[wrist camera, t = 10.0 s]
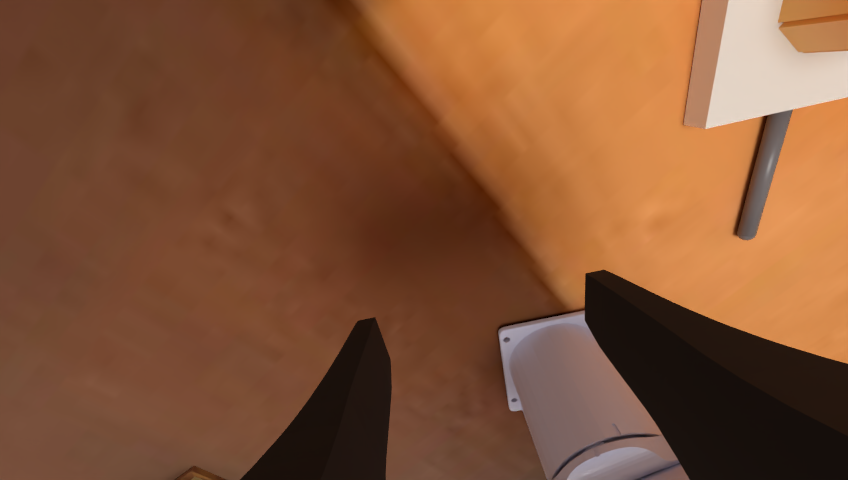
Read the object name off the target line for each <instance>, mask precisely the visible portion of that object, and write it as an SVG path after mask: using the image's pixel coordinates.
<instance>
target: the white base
mask: <svg viewBox="0 0 848 480" xmlns="http://www.w3.org/2000/svg"><path fill="white" fill-rule="evenodd" d="M782 2H783V0H702V5H701V11H700V18H699V25H698V31H697V38H696V44H695V51H694V58H693V64H692V71H691V78H690V84H689V91H688V98H687V104H686V111H685V117H684V124H683V125H687V126H692V127H698V128H703V129H707V128H712V127H716V126H720V125H725V124H729V123H734V122H738V121H743V120H747V119H752V118H756V117H761V116H765V115H768V117H767V121H766V124H765V128H764V132H763V136H762V140H761V143H760V147H759V151H758V155H757V159H756V163H755V166H754V170H753V174H752V178H751V182H750V185H749V189H748V193H747V197H746V201H745V204H744V208H743V212H742V216H741V220H740V223H739V227H738V231H737V235H738V237H739V238H740V239H742V240H751V239H753V238H754V237H755V236H756V233H757V230H758V226H759V223H760V219H761V216H762V213H763V209H764V206H765V202H766V199H767V196H768V192H769V189H770V185H771V182H772V179H773V175H774V172H775V168H776V165H777V162H778V158H779V155H780V151H781V148H782V145H783V141H784V138H785V134H786V131H787V127H788V124H789V121H790V117H791V114H792V110H793V109H797V108H801V107H806V106H810V105H815V104H819V103H824V102H828V101H832V100H837V99H841V98H846V97H848V51H834V52H815V53H803V52H798V51H797V50H796V49H795V48H794V46H793V45H792V44H791V43H790V42H789V40H788V39H787V38H786V37H785V35H784V34H783V33H782V32H781V31H780V29H779V27H780V26H781V25H782V24H783V23H784V22H780V23H778V19H779V15H780V11H781V6H782Z"/></svg>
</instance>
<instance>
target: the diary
mask: <svg viewBox="0 0 848 480" xmlns="http://www.w3.org/2000/svg"><path fill="white" fill-rule="evenodd" d="M175 480H226V479H223V478H221V477H219V476H217V475H214V474H212V473H210V472H207V471H205V470H203V469H200V468H198V467H196V466H193V467H192V468H190V469H189V470H188V471H186V472H185V473H184V474H182V475H181V476H179V477H178V478H177V479H175Z"/></svg>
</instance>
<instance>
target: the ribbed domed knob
mask: <svg viewBox="0 0 848 480" xmlns="http://www.w3.org/2000/svg"><path fill="white" fill-rule="evenodd" d="M780 22H784V23H783V24H782V25H781V26H780V27H779V29H780V31H781V32H782V33H783V34H784V35H785V37H786V38H787V39H788V40H789V42H790V43H791V44H792V45H793V46H794V48H795V49H796V50H797V51H798V52H803V53H815V52H834V51H848V0H783V2H782V6H781V11H780V15H779V19H778V23H780Z"/></svg>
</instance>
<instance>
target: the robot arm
mask: <svg viewBox="0 0 848 480" xmlns="http://www.w3.org/2000/svg"><path fill="white" fill-rule="evenodd" d="M498 336H499V343H500V350H501V357H502V364H503V371H504V378H505V385H506V392H507V399H508V406H509V409H510V410H511V411H519V410H522V411H523V414H524V416H525V419H526V422H527V425H528V428H529V430H530V433H531V436H532V439H533V442H534V444H535V447H536V450H537V453H538V456H539V459H540V461H541V464H542V467H543V470H544V473H545V475H546V478H547V480H848V364H846V363H843V362H839V361H835V360H832V359H828V358H824V357H821V356H818V355H815V354H811V353H808V352H805V351H801V350H798V349H795V348H791V347H788V346H785V345H782V344H779V343H776V342H773V341H770V340H767V339H764V338H761V337H758V336H755V335H752V334H750V333H747V332H744V331H741V330H739V329H736V328H733V327H730V326H728V325H725V324H723V323H720V322H717V321H715V320H713V319H710V318H708V317H705V316H703V315H701V314H698V313H696V312H693V311H691V310H689V309H687V308H684V307H682V306H680V305H678V304H675V303H673V302H671V301H669V300H667V299H665V298H662V297H660V296H658V295H656V294H654V293H652V292H650V291H648V290H646V289H644V288H642V287H640V286H637V285H635V284H633V283H631V282H629V281H627V280H625V279H623V278H621V277H619V276H617V275H615V274H613V273H610V272H608V271H606V270H600V271H596V272H591V273H586V281H585V310H584V311H579V312H574V313H570V314H565V315H560V316H555V317H550V318H545V319H540V320H535V321H530V322H525V323H520V324H515V325H510V326H506V327H502V328H501V329H499V331H498ZM506 337H508V338H506ZM504 338H506V339H504ZM391 390H392V386H391V361H390V357H389V354H388V351H387V349H386V346H385V343H384V340H383V338H382V335H381V332H380V329H379V327H378V324H377V321H376V318H375V317H374V318H370V319H365V320H360V321H358V322H357V323H356V325H355V326H354V328H353V330H352V331H351V333H350V335H349V337H348V338H347V340H346V342H345V344H344V345H343V347H342V349H341V351H340V352H339V354H338V356H337V357H336V359H335V360H334V362H333V364H332V365H331V367H330V369H329V370H328V372H327V373H326V375H325V376H324V378H323V379H322V381H321V382H320V384H319V385H318V387H317V388H316V390H315V391H314V393H313V394H312V396H311V397H310V399H309V400H308V401H307V403H306V404H305V405H304V407H303V408H302V410H301V411H300V412H299V413H298V415H297V416H296V417H295V419H294V420H293V421H292V422H291V424H290V425H289V426H288V427H287V429H286V430H285V431H284V432H283V433H282V435H281V436H280V437H279V438H278V439H277V440H276V441H275V443H274V444H273V445H272V446H271V447H270V448H269V449H268V450H267V451H266V453H265V454H264V455H263V456H262V457H261V458H260V459H259V460H258V462H257V463H256V464H255V465H254V466H253V467H252V468H251V469H250V470H249V471H248V472H247V473H246V474H245V475H244V476H243V477H242V478H241V479H240V480H386V454H387V441H388V429H389V417H390V404H391Z"/></svg>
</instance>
